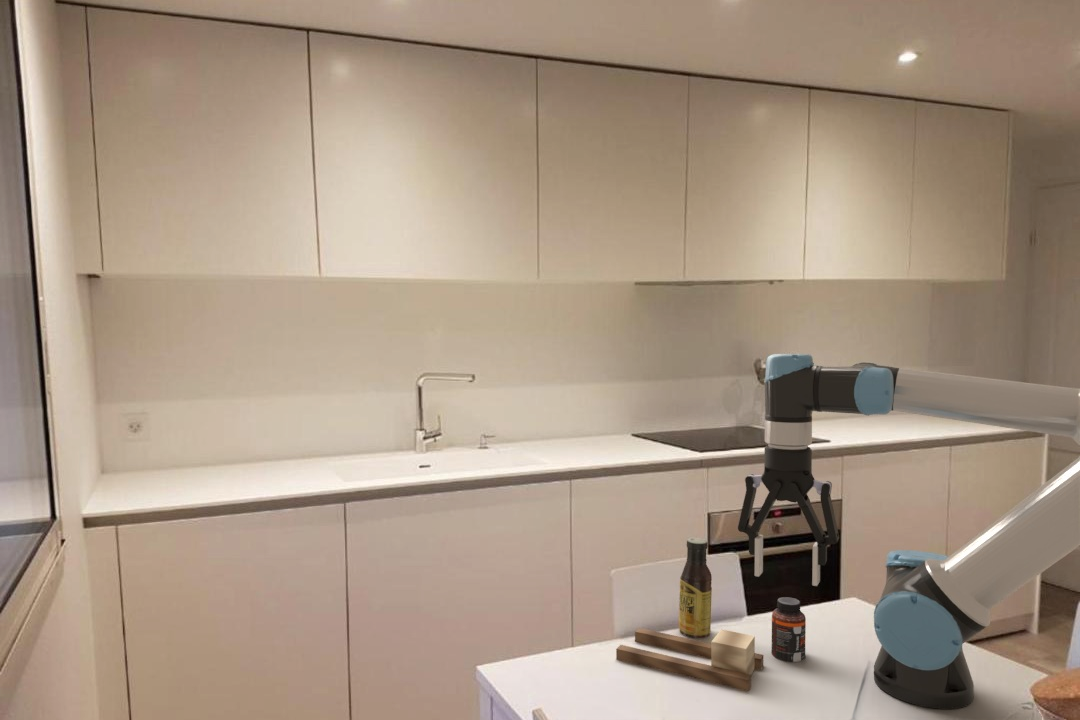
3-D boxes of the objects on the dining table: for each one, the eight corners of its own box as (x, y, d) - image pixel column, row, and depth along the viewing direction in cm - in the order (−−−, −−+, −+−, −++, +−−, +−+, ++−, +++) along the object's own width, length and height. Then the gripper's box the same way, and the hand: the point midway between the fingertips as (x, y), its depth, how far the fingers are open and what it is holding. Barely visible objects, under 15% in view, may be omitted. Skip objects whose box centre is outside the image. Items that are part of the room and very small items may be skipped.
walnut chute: (764, 669, 131) (764, 653, 131) (747, 699, 120) (747, 681, 120) (640, 641, 143) (640, 626, 143) (615, 666, 132) (615, 649, 132)
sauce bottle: (673, 633, 147) (673, 536, 146) (700, 629, 149) (701, 533, 148) (689, 646, 141) (689, 545, 140) (717, 642, 142) (718, 542, 142)
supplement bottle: (807, 669, 131) (808, 607, 130) (773, 666, 132) (773, 605, 132) (802, 655, 137) (803, 595, 136) (769, 652, 138) (770, 593, 137)
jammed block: (754, 669, 129) (754, 636, 128) (745, 683, 123) (746, 648, 123) (721, 661, 132) (721, 629, 131) (711, 675, 126) (711, 641, 126)
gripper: (860, 447, 119) (858, 582, 120) (730, 438, 130) (729, 562, 131) (854, 453, 113) (852, 597, 114) (718, 443, 124) (717, 574, 124)
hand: (786, 578), depth 122 cm, fingers open, 9 cm apart
